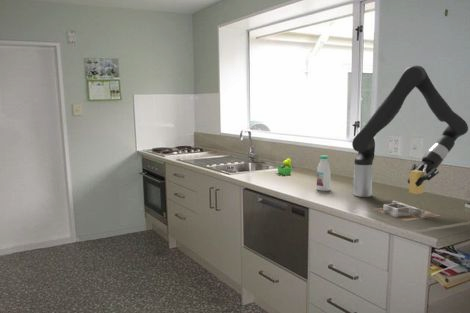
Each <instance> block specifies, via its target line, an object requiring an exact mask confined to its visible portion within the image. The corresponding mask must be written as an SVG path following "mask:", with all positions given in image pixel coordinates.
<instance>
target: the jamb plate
mask: <svg viewBox="0 0 470 313" xmlns="http://www.w3.org/2000/svg"><path fill="white" fill-rule="evenodd" d="M373 210H374V211H377V212H379V213H382V214H383V215H387V216H389V217H392V218H395V219H398V220H400V221H402V222H407V221H408V222H409V221H414V220H415V221H417V220H422V219H427V218H429V219H430V218H435V217H441V215H439V214H436V213H434V212H430V211H427V210H426V209H422V208H419V207H416V206H412V205H409V204H407V203H404V202H400V201H397V200H392V201H391V203H388V204H387V203H385V204H383V207H379V208H373Z"/></svg>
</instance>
